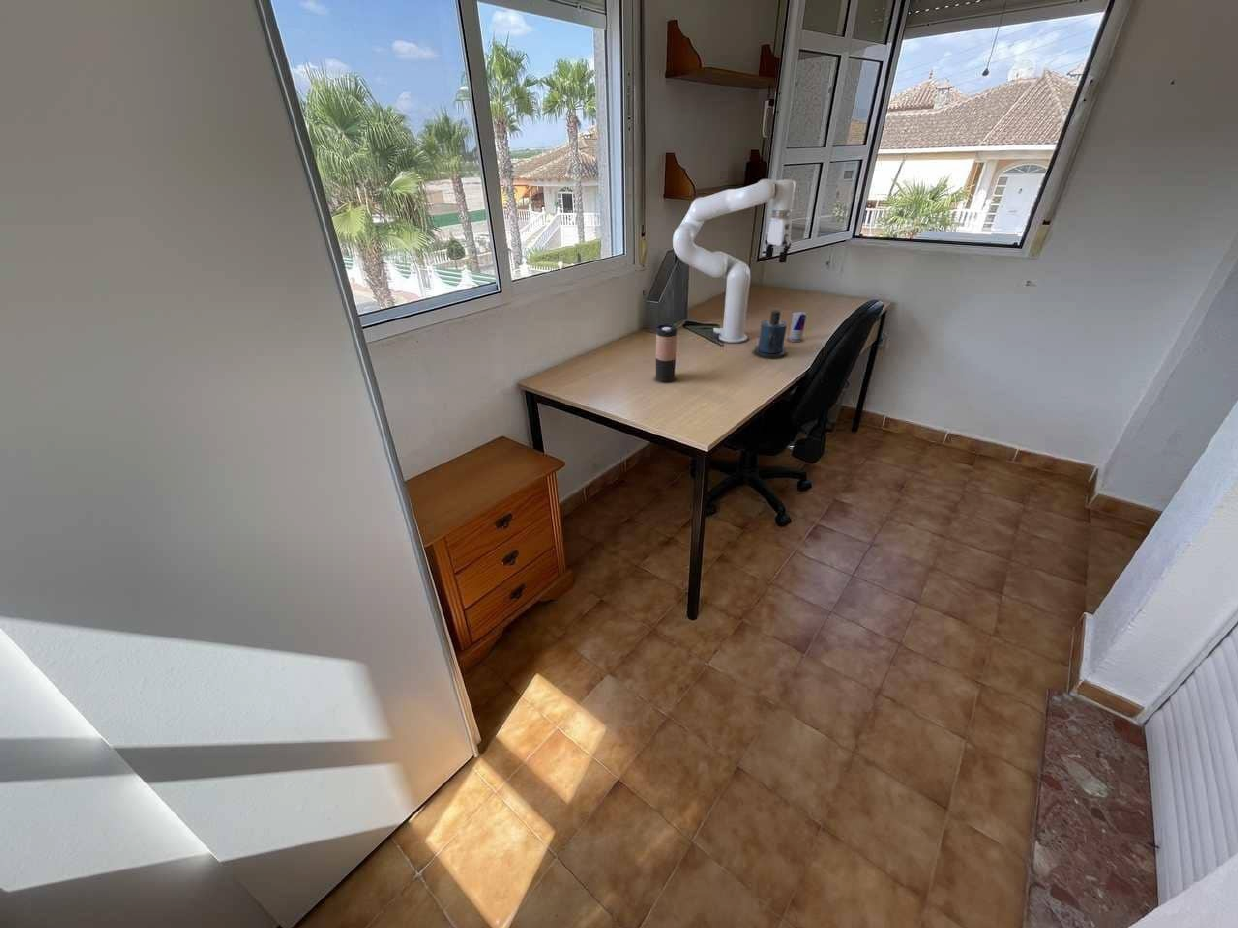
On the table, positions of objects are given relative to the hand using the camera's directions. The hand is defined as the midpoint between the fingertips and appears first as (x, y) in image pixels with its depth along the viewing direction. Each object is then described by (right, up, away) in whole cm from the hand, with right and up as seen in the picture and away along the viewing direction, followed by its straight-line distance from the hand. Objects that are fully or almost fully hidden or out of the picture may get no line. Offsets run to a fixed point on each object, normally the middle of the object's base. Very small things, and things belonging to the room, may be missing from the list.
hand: (775, 260), depth 217 cm
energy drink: (+14, -29, +18) cm, 37 cm away
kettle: (-1, -36, +3) cm, 36 cm away
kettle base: (-1, -38, +4) cm, 38 cm away
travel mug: (-47, -52, -17) cm, 73 cm away
